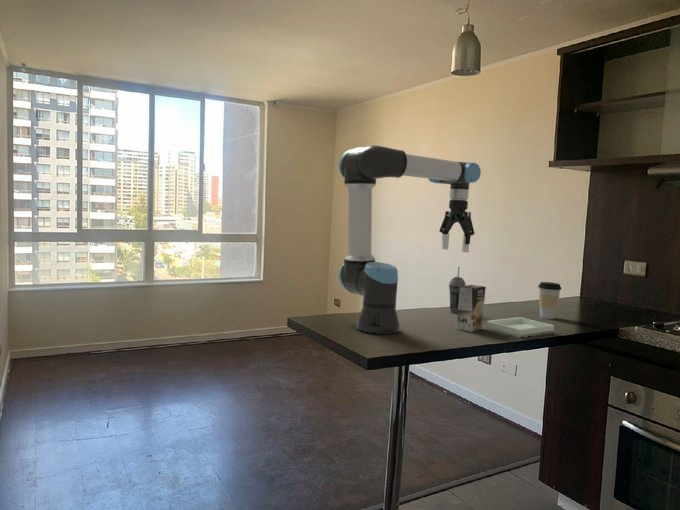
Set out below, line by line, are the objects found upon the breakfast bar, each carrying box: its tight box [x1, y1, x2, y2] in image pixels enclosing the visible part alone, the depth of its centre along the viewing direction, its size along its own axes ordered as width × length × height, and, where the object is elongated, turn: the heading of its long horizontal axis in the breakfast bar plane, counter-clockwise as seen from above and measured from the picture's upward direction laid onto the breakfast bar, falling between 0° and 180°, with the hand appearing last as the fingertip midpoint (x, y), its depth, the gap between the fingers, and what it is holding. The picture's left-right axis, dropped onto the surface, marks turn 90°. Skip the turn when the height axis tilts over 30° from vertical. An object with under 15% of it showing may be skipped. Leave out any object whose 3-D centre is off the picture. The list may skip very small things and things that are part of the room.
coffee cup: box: [537, 281, 562, 320], centre depth 221 cm, size 9×9×15 cm
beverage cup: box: [448, 266, 467, 315], centre depth 222 cm, size 7×7×20 cm
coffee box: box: [456, 284, 487, 333], centre depth 191 cm, size 9×6×16 cm
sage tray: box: [485, 316, 555, 339], centre depth 192 cm, size 20×15×3 cm
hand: (454, 250), depth 215 cm, fingers open, 13 cm apart
